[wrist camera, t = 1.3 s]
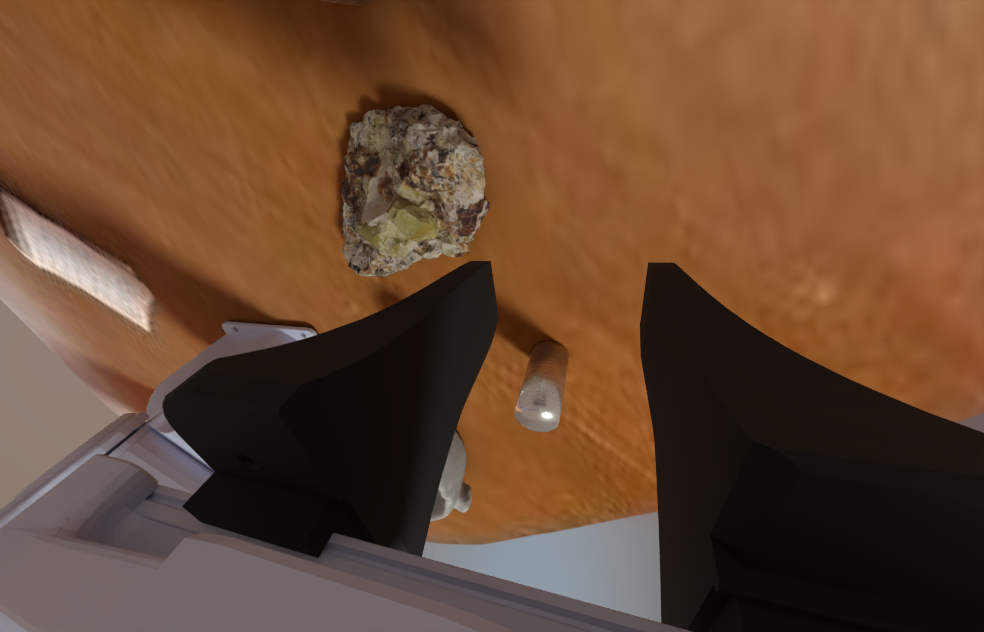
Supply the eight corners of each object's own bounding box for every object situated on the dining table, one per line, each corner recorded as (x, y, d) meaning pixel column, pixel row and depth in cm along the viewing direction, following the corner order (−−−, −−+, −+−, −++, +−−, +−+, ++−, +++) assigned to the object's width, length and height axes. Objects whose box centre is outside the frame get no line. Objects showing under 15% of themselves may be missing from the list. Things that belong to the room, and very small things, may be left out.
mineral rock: (367, 34, 14) (495, 207, 14) (436, 55, 17) (537, 193, 17) (283, 214, 20) (371, 328, 20) (345, 202, 24) (419, 301, 24)
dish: (356, 459, 40) (328, 503, 36) (320, 370, 32) (279, 415, 28) (481, 493, 37) (465, 545, 33) (478, 404, 28) (456, 461, 25)
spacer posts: (437, 358, 26) (406, 412, 22) (309, -89, 13) (186, -144, 10) (569, 370, 23) (559, 434, 20) (564, -176, 11) (534, -301, 7)
